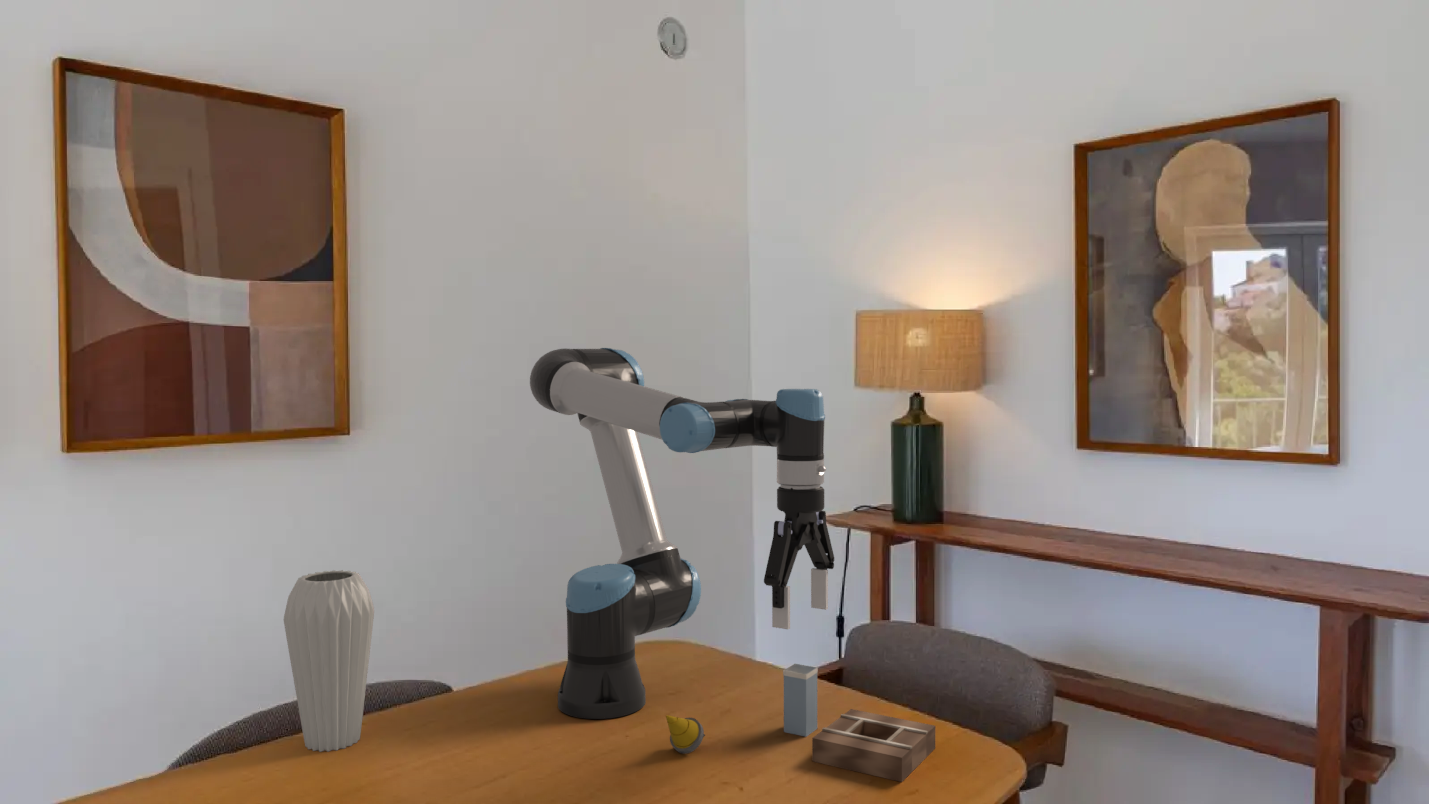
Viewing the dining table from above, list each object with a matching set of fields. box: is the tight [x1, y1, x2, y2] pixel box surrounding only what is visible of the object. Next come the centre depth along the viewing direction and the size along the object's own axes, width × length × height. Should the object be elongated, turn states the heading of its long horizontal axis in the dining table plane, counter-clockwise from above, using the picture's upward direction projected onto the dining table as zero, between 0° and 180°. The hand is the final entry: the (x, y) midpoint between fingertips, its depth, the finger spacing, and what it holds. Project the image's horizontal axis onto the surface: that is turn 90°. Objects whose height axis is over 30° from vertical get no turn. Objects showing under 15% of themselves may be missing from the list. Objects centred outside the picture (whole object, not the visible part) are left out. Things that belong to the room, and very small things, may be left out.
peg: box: [782, 663, 819, 738], centre depth 158 cm, size 4×4×10 cm
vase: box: [283, 569, 375, 753], centre depth 154 cm, size 13×13×26 cm
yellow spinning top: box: [665, 715, 706, 755], centre depth 149 cm, size 5×5×10 cm
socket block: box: [811, 708, 936, 783], centre depth 148 cm, size 14×14×4 cm
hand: (801, 617), depth 157 cm, fingers open, 13 cm apart
